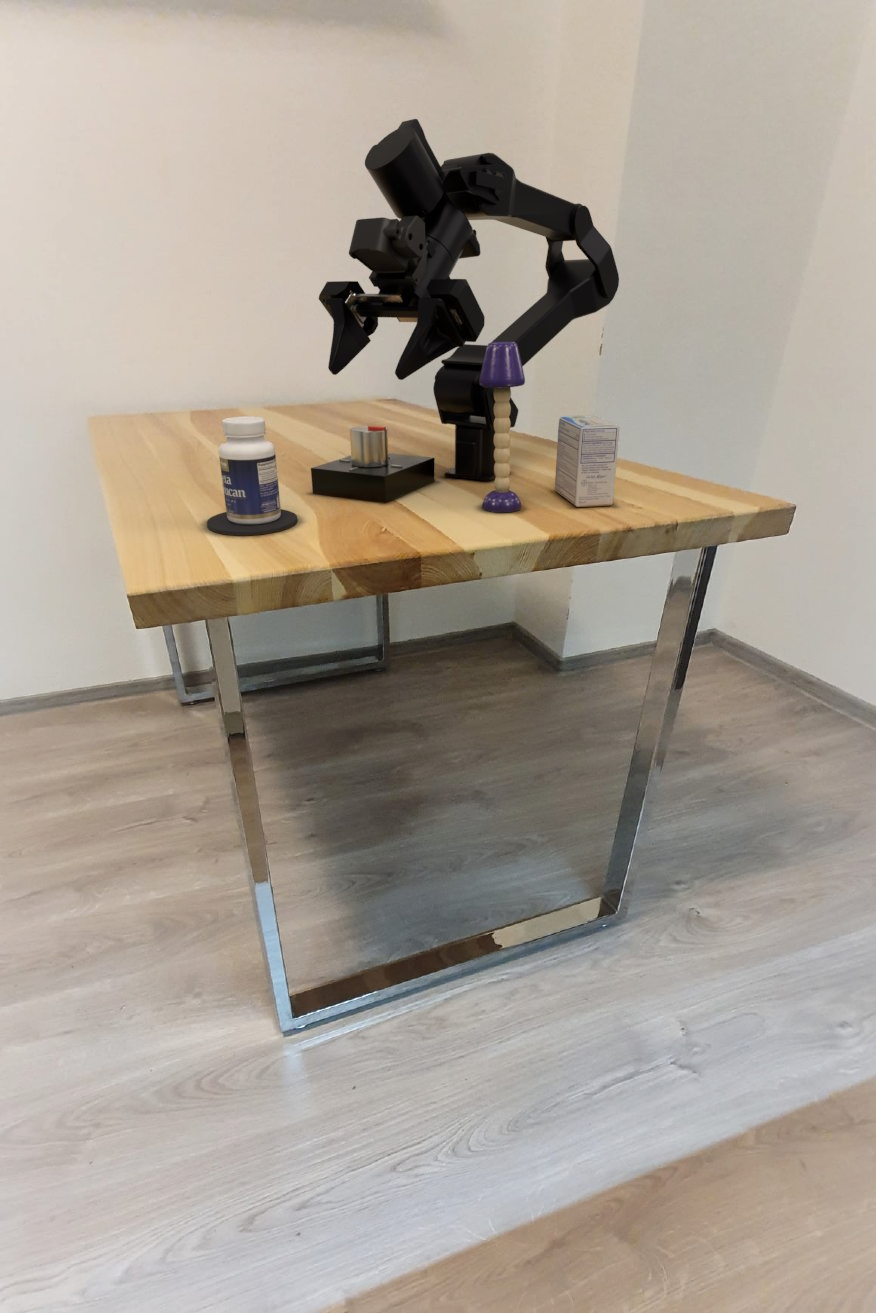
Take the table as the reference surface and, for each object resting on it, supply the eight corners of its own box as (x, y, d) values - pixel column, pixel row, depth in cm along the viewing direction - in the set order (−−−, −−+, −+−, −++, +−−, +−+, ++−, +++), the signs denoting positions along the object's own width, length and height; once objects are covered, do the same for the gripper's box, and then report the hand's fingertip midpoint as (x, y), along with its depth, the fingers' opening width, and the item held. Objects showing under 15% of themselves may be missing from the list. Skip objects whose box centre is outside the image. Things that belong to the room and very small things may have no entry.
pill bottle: (215, 521, 73) (201, 421, 69) (251, 509, 77) (240, 413, 73) (257, 528, 71) (245, 425, 67) (292, 515, 75) (283, 417, 71)
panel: (367, 474, 95) (365, 449, 94) (434, 481, 91) (434, 456, 89) (312, 493, 85) (310, 466, 84) (385, 503, 81) (384, 474, 80)
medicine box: (613, 506, 80) (622, 424, 76) (574, 508, 79) (581, 426, 75) (589, 490, 87) (595, 414, 83) (553, 491, 86) (558, 415, 82)
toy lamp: (488, 515, 77) (493, 343, 69) (469, 505, 81) (472, 341, 73) (528, 510, 78) (537, 342, 71) (507, 500, 82) (514, 340, 75)
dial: (344, 465, 85) (342, 427, 83) (364, 458, 89) (362, 422, 87) (376, 468, 83) (375, 430, 81) (395, 462, 87) (394, 424, 85)
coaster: (247, 507, 80) (247, 504, 79) (315, 517, 76) (314, 514, 76) (187, 528, 72) (187, 524, 72) (258, 540, 69) (258, 536, 69)
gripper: (324, 195, 76) (254, 313, 73) (471, 179, 66) (396, 315, 63) (377, 281, 85) (316, 389, 82) (513, 278, 75) (449, 401, 72)
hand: (363, 374), depth 75 cm, fingers open, 9 cm apart
